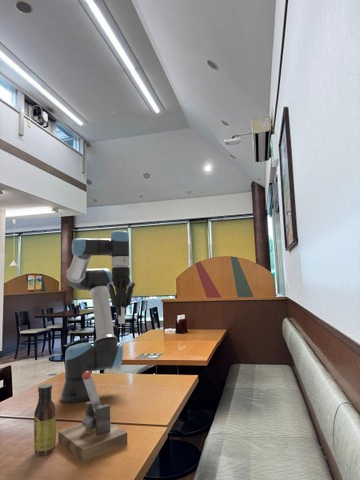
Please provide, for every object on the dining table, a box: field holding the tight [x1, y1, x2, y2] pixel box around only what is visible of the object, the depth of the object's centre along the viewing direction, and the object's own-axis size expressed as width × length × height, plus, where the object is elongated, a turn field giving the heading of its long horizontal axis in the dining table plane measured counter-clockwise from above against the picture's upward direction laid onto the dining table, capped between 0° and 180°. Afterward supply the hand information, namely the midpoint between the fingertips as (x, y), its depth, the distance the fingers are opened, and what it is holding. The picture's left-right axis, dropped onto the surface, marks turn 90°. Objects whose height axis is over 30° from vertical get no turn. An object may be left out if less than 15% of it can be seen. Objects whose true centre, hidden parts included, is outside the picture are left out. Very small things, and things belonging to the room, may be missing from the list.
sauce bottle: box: [33, 383, 57, 457], centre depth 103 cm, size 7×6×20 cm
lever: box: [80, 371, 103, 430], centre depth 107 cm, size 4×7×16 cm, turn 133°
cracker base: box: [57, 401, 129, 464], centre depth 107 cm, size 18×15×12 cm
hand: (121, 323), depth 137 cm, fingers closed
